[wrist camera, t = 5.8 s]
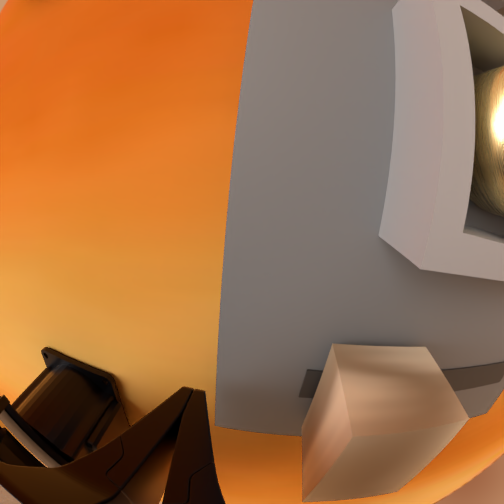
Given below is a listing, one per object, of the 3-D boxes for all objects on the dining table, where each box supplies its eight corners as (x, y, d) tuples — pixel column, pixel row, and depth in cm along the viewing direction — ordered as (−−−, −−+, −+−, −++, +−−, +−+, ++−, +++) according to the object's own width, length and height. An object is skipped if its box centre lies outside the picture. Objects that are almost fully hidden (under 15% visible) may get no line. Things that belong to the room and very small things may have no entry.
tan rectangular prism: (301, 427, 10) (302, 501, 6) (332, 343, 9) (352, 436, 5) (380, 426, 10) (396, 491, 6) (425, 346, 9) (469, 418, 5)
